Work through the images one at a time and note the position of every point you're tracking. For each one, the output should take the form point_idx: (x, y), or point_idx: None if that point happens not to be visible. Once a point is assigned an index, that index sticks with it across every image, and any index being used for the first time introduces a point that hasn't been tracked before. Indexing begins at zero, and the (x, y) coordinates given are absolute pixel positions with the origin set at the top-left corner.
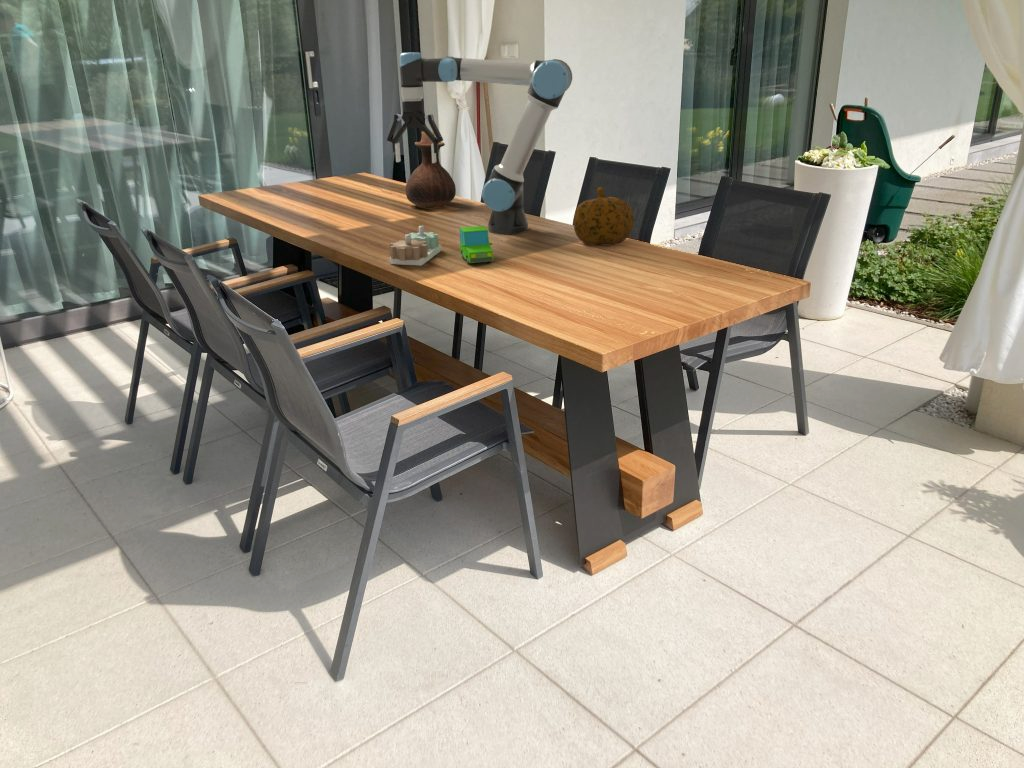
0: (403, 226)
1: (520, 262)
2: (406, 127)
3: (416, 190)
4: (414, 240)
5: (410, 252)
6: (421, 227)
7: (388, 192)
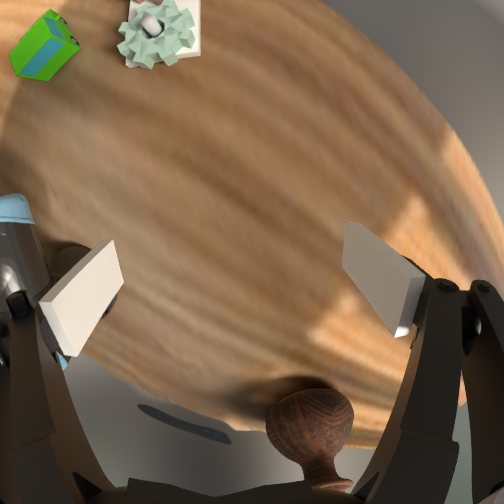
0: (308, 260)
1: (5, 77)
2: (369, 475)
3: (329, 403)
4: None
5: None
6: (145, 16)
7: (379, 425)
